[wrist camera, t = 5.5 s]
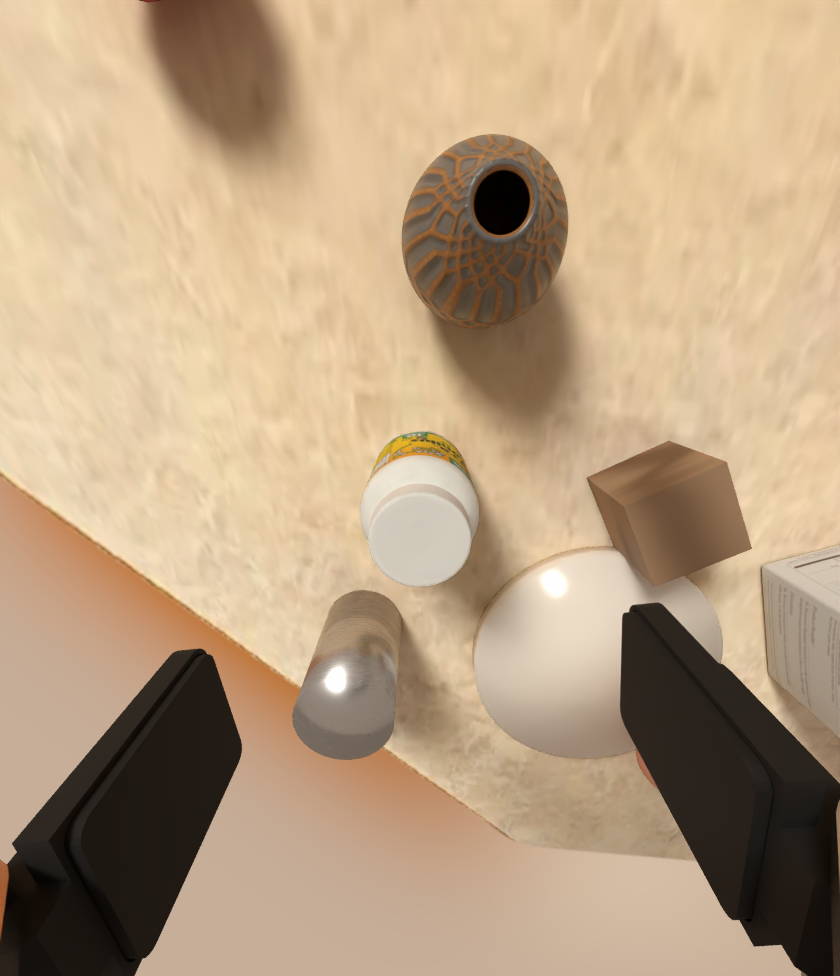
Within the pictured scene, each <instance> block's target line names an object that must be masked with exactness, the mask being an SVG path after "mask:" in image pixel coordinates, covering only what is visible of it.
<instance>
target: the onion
mask: <svg viewBox="0 0 840 976" xmlns="http://www.w3.org/2000/svg"><path fill="white" fill-rule="evenodd" d="M140 1H144V2H148V3H149V2H154V1H159V0H140Z"/></svg>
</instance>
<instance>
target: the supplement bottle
mask: <svg viewBox="0 0 840 976" xmlns="http://www.w3.org/2000/svg"><path fill="white" fill-rule="evenodd" d="M360 520H361V525H362V529H363V532H364V534H365V536H366V538H367V540H368V546H369V551H370V554H371V556H372V559H373V561H374V562H375V564H376V565H377V567H378V568H379V569H380V570H381V571H382V572H383V573H384V574H385V575H386V576H388V577H389V578H390V579H392V580H394V581H396V582H398V583H400V584H403V585H407V586H412V587H427V586H433V585H436V584H439V583H442V582H444V581H446V580H448V579H449V578H451V577H452V576H454V575H455V574H456V573H457V572H458V571H459V570H460V569H461V568H462V566H463V565H464V563H465V562H466V560H467V558H468V556H469V553H470V548H471V541H472V539H473V537H474V535H475V533H476V530H477V527H478V523H479V502H478V497H477V494H476V491H475V489H474V486H473V484H472V482H471V479H470V476H469V473H468V471H467V469H466V466H465V463H464V461H463V458H462V456H461V454H460V452H459V451H458V449H457V448H456V447H455V446H454V444H453V443H451V442H450V441H449V440H448V439H446V438H445V437H443V436H441V435H439V434H437V433H434V432H429V431H414V432H408V433H404V434H401V435H399V436H397V437H395V438H394V439H392V440H391V441H390V442H389V443H387V445H386V446H385V447H384V448H383V449H382V451H381V452H380V454H379V456H378V458H377V461H376V463H375V466H374V468H373V470H372V473H371V475H370V478H369V480H368V483H367V485H366V488H365V490H364V493H363V496H362V500H361V505H360Z"/></svg>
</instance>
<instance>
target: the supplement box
mask: <svg viewBox="0 0 840 976" xmlns="http://www.w3.org/2000/svg"><path fill="white" fill-rule="evenodd" d="M762 584H763V599H764V613H765V627H766V641H767V657H768V673H769V675H770V676H771V677H772V678H773V679H774V680H775V681H776V682H778V683H779V684H780V685H781V686H782V687H783V688H784V689H785V690H786V691H787V692H789V693H790V694H791V695H792V696H793V697H794V698H795V699H796V700H797V701H798V702H800V703H801V704H802V705H803V706H804V707H805V708H806V709H807V710H808V711H809V712H811V713H812V714H813V715H814V716H815V717H816V718H817V719H818V720H819V721H821V722H822V723H823V724H824V725H825V726H826V727H827V728H828V729H829V730H830V731H832V732H833V733H834V734H835V735H836V736H837V737H838V738H839V739H840V545H838V546H834V547H830V548H826V549H822V550H818V551H814V552H811V553H807V554H803V555H799V556H795V557H791V558H788V559H784V560H780V561H776V562H772V563H768V564H764V565H763V566H762Z"/></svg>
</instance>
